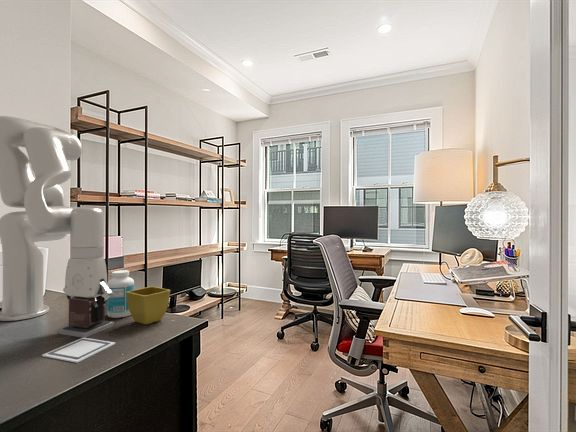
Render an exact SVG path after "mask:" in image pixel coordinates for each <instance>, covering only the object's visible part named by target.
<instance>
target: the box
mask: <svg viewBox="0 0 576 432" xmlns="http://www.w3.org/2000/svg"><path fill="white" fill-rule="evenodd" d="M96 298H97V301H98V300H99V297H96ZM105 305H106V304H105ZM105 305H103V319H102V320H100V321H97V322H95V323H92V321H91V309H92V307H94V306H93V303H92V299H91V298H83V297H73V298H69V300H68V326H77V327H90V326H92V325H95V324H97V323H100V322H102V321H106V319H105V318H106V317H105V316H106V315H105V314H106V311H105V310H106V306H105Z"/></svg>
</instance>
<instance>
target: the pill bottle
mask: <svg viewBox="0 0 576 432" xmlns="http://www.w3.org/2000/svg"><path fill="white" fill-rule="evenodd" d="M129 275H130V270H128V269H127V270H126V269H124V270H123V269H121V270H114V271H112V272H111V276H112V278H111V279H109V280H107V286H108V288H109V289H110V290H111V292H112V295H111V296H110V297H109V298H108V300H107V301H106V310H107V311H106V313H107V317H108V318H113V319H120V318H121V317H122V318H125V317H129V316H131V314H130V311H129V308H128V301H127V293H126V292H128V291H132V290H135V281H134V278H132V277H129Z"/></svg>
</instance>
